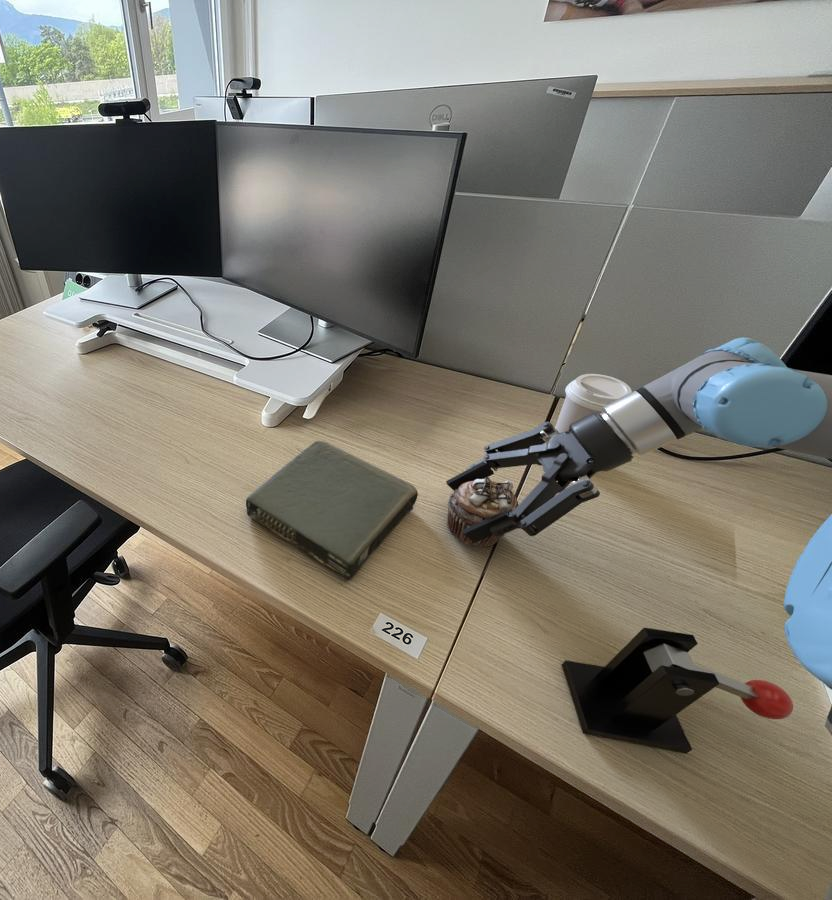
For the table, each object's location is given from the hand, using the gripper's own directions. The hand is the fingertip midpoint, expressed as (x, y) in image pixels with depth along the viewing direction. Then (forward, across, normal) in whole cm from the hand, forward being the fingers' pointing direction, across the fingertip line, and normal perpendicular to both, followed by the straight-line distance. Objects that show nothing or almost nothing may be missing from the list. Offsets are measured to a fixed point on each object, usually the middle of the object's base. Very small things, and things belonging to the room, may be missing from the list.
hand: (459, 510), depth 72 cm
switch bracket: (-6, -26, -13) cm, 29 cm away
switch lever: (-14, -26, -11) cm, 32 cm away
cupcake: (+1, 0, -5) cm, 5 cm away
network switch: (+17, +3, +10) cm, 20 cm away
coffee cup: (-15, +20, -22) cm, 33 cm away
